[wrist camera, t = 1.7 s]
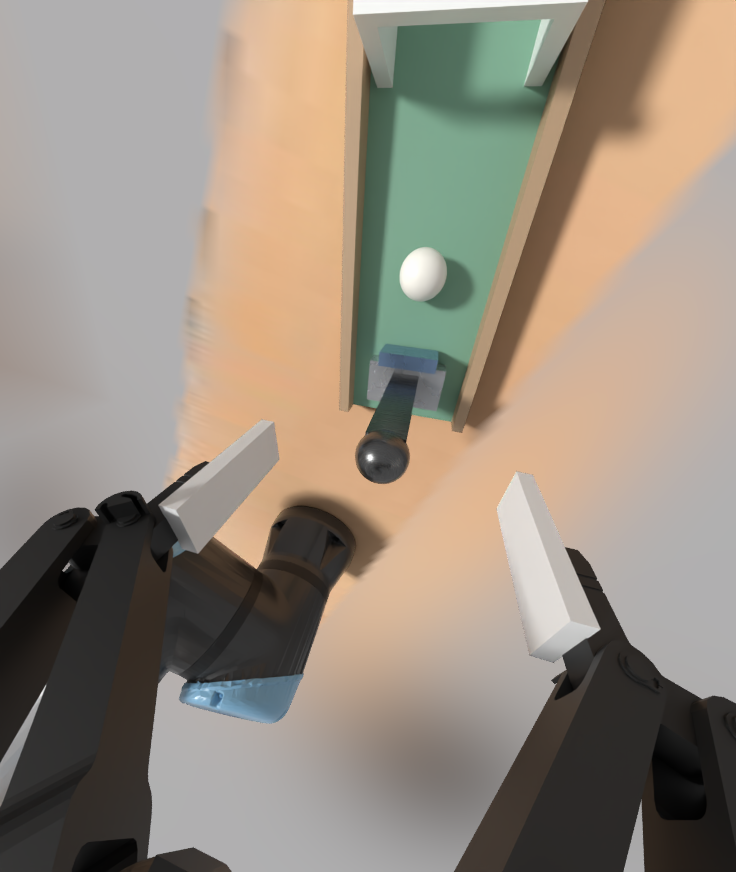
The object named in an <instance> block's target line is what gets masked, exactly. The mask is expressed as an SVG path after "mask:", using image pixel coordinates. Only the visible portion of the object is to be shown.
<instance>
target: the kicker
mask: <svg viewBox="0 0 736 872" xmlns="http://www.w3.org/2000/svg"><path fill="white" fill-rule="evenodd" d="M437 363H438V351H436V350H428V349H421V348H414V347H407V346H400V345H393V344H385V345H384V347H383V348H382V349H381V351H380V352H379V355H374V356H373V357H372V359H371V360H370V368H369V380H368V392H367V399H368V400H374V401H380V402H379V404H378V407H377V409H376V411H375V413H374V415H373V417H372V419H371V422H370V424H369V426H368V428H367V430H366V434H365V436H364V437H363V438H362V439H361V440H360V442H359V444H358V445H357V448H356V453H355V460H356V465H357V468H358V470H359V471H360V473H361V474H362V475H363V476H364V477H365V478H366V479H368V480H369V481H371V482H374V483H378V484H387V483H391V482H394V481H396V480H397V479H399V478H400V477H401V476H402V475H403V474H404V473H405V471H406V469H407V467H408V465H409V460H410V453H409V449H408V446H407V444H406V440H407V435H408V430H409V425H410V420H411V415H412V409H413V407H414V408H420V409H425V410H431V411H437V407H438V403H439V399H440V395H441V391H442V387H443V383H444V380H445V376H446V365H442V364H437Z"/></svg>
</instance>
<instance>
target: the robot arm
mask: <svg viewBox="0 0 736 872" xmlns="http://www.w3.org/2000/svg"><path fill="white" fill-rule="evenodd" d="M278 460H279V453H278V446H277V440H276V433H275V426H274V422H272V421H267V420H261V421H259V422H258V423H257V424H256V425H255V426H253V427H252V428H251V429H250V430H248V431H247V432H246V433H245V434H244V435H242V436H241V437H240V438H239V439H238V440H236V441H235V442H234V443H233V444H232V445H230V446H229V447H228V448H227V449H226V450H224V451H223V452H222V453H221V454H219V455H218V456H217V457H216V458H215V459H213V460H212V461H211V462H206V461H205V462H203V463H201V464H199V465H197V466H194V467H193V468H192V469H190V470H189V471H188V472H187V473H185V474H184V476H182V477H180V478H179V479H178V480H177V481H176V482H174V483H173V484H171V485H170V486H169V487H168V488H166V489H165V490H164V491H163V492H161V493H160V494H159V495H158V496H157V497H155V498H154V499H152V500H151V501H150V502H149V503H147V504H146V502H145V500H144V498H143V497H142V495H141V494H140V493H138V492H136V491H125V492H121V493H117V494H114V495H112V496H110V497H108V498H106V499H105V500H104V501H102V502H101V503H100V504H98V506H97V507H96V509H95V511H96V512H97V514H98V515H99V516H94V515H93V514H92V513H91V512H90V510H88V509H86V508H73V509H69V510H66V511H63V512H61V513H59V514H57V515H55V516H53V517H52V518H50V519H49V520H48V521H46V522H45V523H44V524H43V525H42V526H41V527H40V528H39V529H38V530H37V531H36V532H35V533H34V534H33V535H32V536H31V538H30V539H29V540H28V541H27V542H26V543H25V544H24V545H23V546H22V547H21V548H20V549H19V550H18V551H17V552H16V553H15V554H14V555H13V556H12V558H11V559H10V560H9V561H8V562H7V563H6V564H5V565H4V566H3V567H2V568H1V569H0V872H231V870H230V869H229V867H228V866H227V865H226V864H224V863H223V862H221V861H219V860H217V859H215V858H213V857H211V856H209V855H207V854H205V853H203V852H201V851H199V850H197V849H195V848H188V849H183V850H179V851H173V852H169V853H163V854H158V855H156V856H155V857H152V858H149V859H147V855H148V845H149V834H150V825H151V814H152V796H151V790H150V786H149V782H148V764H149V756H150V748H151V739H152V731H153V722H154V714H155V705H156V697H157V688H158V683H159V682H160V681H161V680H162V678H163V677H164V676H165V675H166V673H168V672H169V671H171V672H173V673H175V674H178V675H180V676H181V677H183V678H185V679H187V682H186V683H184V685H183V687H182V692H181V694H180V697H179V700H180V701H181V702H182V703H186V704H187V705H190V706H193V707H197V708H200V709H204V710H208V711H212V712H216V713H219V714H223V715H228V716H232V717H237V718H241V719H246V720H250V721H256V722H261V723H275V722H277V721H279V720H280V719H282V718H283V717H284V716H285V714H286V713H287V711H288V709H289V707H290V705H291V702H292V700H293V697H294V695H295V692H296V690H297V687H298V685H299V683H300V680H301V679H302V677H303V671H304V668H305V665H306V662H307V659H308V656H309V653H310V650H311V647H312V644H313V641H314V638H315V635H316V632H317V629H318V626H319V623H320V620H321V617H322V614H323V611H324V608H325V605H326V602H327V599H328V597H329V594H330V591H331V590H332V588H333V587H334V586H335V584H336V583H337V582H338V580H339V579H340V577H341V576H342V575H343V573H344V572H345V570H346V569H347V568H348V566H349V565H350V563H351V561H352V558H353V554H354V551H355V540H354V537H353V535H352V534H351V532H350V531H349V529H348V528H347V527H346V526H345V525H344V524H343V523H342V522H341V521H339V520H338V519H336V518H335V517H333V516H332V515H330V514H328V513H326V512H324V511H321V510H318V509H315V508H310V507H303V506H297V507H290V508H287V509H285V510H283V511H282V512H281V513H280V514H279V515H278V517H277V518H276V520H275V521H274V523H273V524H272V526H271V529H270V533H269V537H268V540H267V544H266V548H265V552H264V556H263V559H262V562H261V563H260V565H259V567H258V568H257V569H255V568H254V567H253V566H252V565H250V564H249V563H248V562H246V561H245V560H244V559H242V558H241V557H240V556H238V555H237V554H236V553H234V552H233V551H231V550H230V549H229V548H227V547H226V546H225V545H223V544H222V543H221V542H219V541H218V540H217V539H215V538H214V537H213V536H214V535H215V534H216V532H217V531H218V530H219V529H220V528H221V527H222V525H223V524H224V523H225V522H226V521H227V520H228V518H229V517H230V516H231V515H232V514H233V513H234V511H235V510H236V509H237V508H238V507H239V506H240V504H241V503H242V502H243V501H244V500H245V499H246V498H247V496H248V495H249V494H250V493H251V492H252V491H253V489H254V488H255V487H256V486H257V485H258V484H259V482H260V481H261V480H262V479H263V478H264V477H265V475H266V474H267V473H268V472H269V471H270V470H271V469H272V467H273V466H274V465H275V464H276V463H277V462H278ZM497 513H498V518H499V522H500V526H501V531H502V535H503V540H504V544H505V549H506V553H507V558H508V562H509V567H510V570H511V576H512V580H513V584H514V589H515V593H516V598H517V602H518V607H519V611H520V616H521V620H522V624H523V629H524V634H525V638H526V642H527V647H528V651H529V655H530V656H533V657H536V658H540V659H543V660H546V661H549V662H553V663H554V662H555V661H556V660H558V659H560V658H561V657H562V656H563V660H564V663H565V666H566V669H567V670H566V671H564V672H562V673H561V674H559V675H557V676H556V677H555V678H554V679H552V680H551V681H552V682H553V683H554V684H556V683H557V684H556V686H555V688H554V690H553V691H552V693H551V695H550V697H549V699H548V701H547V702H546V704H545V706H544V708H543V710H542V712H541V714H540V715H539V717H538V719H537V721H536V723H535V725H534V726H533V728H532V730H531V732H530V734H529V735H528V737H527V739H526V741H525V743H524V745H523V746H522V748H521V750H520V752H519V754H518V756H517V757H516V759H515V761H514V763H513V765H512V767H511V769H510V770H509V772H508V774H507V776H506V777H505V779H504V781H503V783H502V785H501V787H500V789H499V790H498V792H497V794H496V796H495V798H494V800H493V801H492V803H491V805H490V807H489V809H488V811H487V812H486V814H485V816H484V818H483V820H482V821H481V824H480V825H479V827H478V829H477V831H476V832H475V834H474V836H473V838H472V840H471V842H470V843H469V845H468V847H467V849H466V851H465V853H464V855H463V856H462V858H461V860H460V862H459V864H458V866H457V867H456V869H455V871H454V872H623V871H624V867H625V863H626V859H627V854H628V850H629V847H630V843H631V839H632V834H633V830H634V827H635V822H636V819H637V815H638V811H639V806H640V802H641V799H642V821H643V845H644V866H645V867H644V868H645V872H736V703H734V702H731V701H730V700H728V699H726V698H724V697H718V696H711V697H708V698H705V699H701V698H699V697H698V696H696V695H694V694H692V693H691V692H689V691H687V690H685V689H684V688H682V687H680V686H678V685H677V684H675V683H673V682H672V681H670V680H668V679H666V678H665V677H663V676H662V675H661V674H660V672H659V671H658V670H657V668H656V667H655V666H654V664H653V663H652V662H651V661H650V660H649V659H648V658H647V657H646V656H645V655H644V654H643V653H642V652H640V651H639V650H637V649H636V648H634V647H633V646H632V645H631V644H630V643H629V641H628V639H627V638H626V636H625V633H624V631H623V629H622V627H621V626H620V623H619V621H618V619H617V618H616V616H615V613H614V611H613V609H612V608H611V606H610V603H609V601H608V600H607V597H606V595H605V594H604V593H603V589H602V587H601V586H600V583H599V581H597V577H596V576H595V573H594V571H593V569H592V568H591V565H590V564H589V562H588V561H587V560H586V559H585V558H584V557H583V556H582V554H581V553H580V552H579V551H578V550H575V549H570V548H566V547H564V545H563V542H562V540H561V538H560V536H559V533H558V531H557V529H556V527H555V524H554V522H553V520H552V517H551V515H550V513H549V510H548V508H547V506H546V504H545V502H544V499H543V497H542V494H541V492H540V490H539V488H538V486H537V483H536V481H535V479H534V476H533V475H531V474H526V473H522V472H516V473H515V475H514V477H513V479H512V481H511V482H510V485H509V486H508V488H507V490H506V492H505V494H504V496H503V498H502V499H501V501H500V503H499V505H498V507H497ZM68 562H69V563H70V564H71V565H70V566H69V567H68V569H67V570H66V571H65V572H63V571H62V570H63V569H64V567H65V566H66V565H67V563H68Z"/></svg>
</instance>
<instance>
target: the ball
mask: <svg viewBox="0 0 736 872" xmlns="http://www.w3.org/2000/svg"><path fill="white" fill-rule="evenodd" d="M446 277H447V266H446V262H445V260H444V258H443V256H442V255H441V254H440V253H439V252H438V251H437V250H435V249H433V248H430V247H422V248H418V249H416V250H414V251H413V252H411V253H410V254H409V255H408V256H407V257H406V259H405V260H404V262H403V264H402V266H401V270H400V285H401V288H402V290H403V292H404V293H405V295H406V296H407V297H409V298H410V299H412V300H414V301H418V302H423V301H427V300H430V299H432V298H433V297H435V296H436V295H437V294H438V293H439V292H440V291H441V289H442V288H443V286H444V284H445V281H446Z"/></svg>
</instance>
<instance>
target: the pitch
mask: <svg viewBox="0 0 736 872" xmlns="http://www.w3.org/2000/svg"><path fill="white" fill-rule="evenodd" d="M605 1H606V0H588V2H587V4H586V6H585V8H584V10H583V12H582V13H581V15H580V17H579V19H578V21H577V22H576V24H575V26H574V28H573V30H572V32H571V33H570V35H569V37H568V39H567V41H566V43H565V44H564V46H563V48H562V50H561V52H560V54H559V55H558V57H557V59H556V61H555V63H554V64H553V66H552V68H551V70H550V72H549V74H548V75H547V77H546V79H545V81H544V83H543V85H542V86H524V84H525V80H526V76H527V72H528V68H529V64H530V61H531V57H532V53H533V49H534V45H535V41H536V38H537V34H538V30H539V26H540V22H541V20H520V21H499V22H477V23H456V24H434V25H412V26H398V28H397V40H396V52H395V64H394V76H393V88H377V85H376V82H375V79H374V76H373V73H372V70H371V67H370V64H369V61H368V58H367V55H366V52H365V49H364V46H363V43H362V40H361V37H360V34H359V31H358V28H357V25H356V22H355V19H354V16H353V0H348V9H347V58H346V107H345V156H344V205H343V254H342V303H341V352H340V401H339V410H341V411H346V412H348V411H349V410H350V408H351V407H352V405H353V404H355V405H361V406H366V407H372V408H377V407H378V404H379V402H380V401H374V400H368V399H367V392H368V380H369V368H370V360H371V359H372V357H373V356H374V355H379V352H380V351H381V349H382V348H383V347H384V345H385V344H393V345H400V346H407V347H414V348H421V349H428V350H436V351H438V363H437V364H442V365H446V376H445V380H444V383H443V387H442V391H441V395H440V399H439V403H438V407H437V411H431V410H425V409H420V408H414V407H413V409H412V415H417V416H422V417H428V418H434V419H439V420H445V421H450V422H451V426H452V431H455V432H460V433H462V431H463V428H464V425H465V422H466V419H467V416H468V413H469V410H470V407H471V404H472V401H473V398H474V395H475V392H476V389H477V386H478V383H479V380H480V377H481V374H482V371H483V368H484V365H485V362H486V359H487V356H488V353H489V350H490V347H491V344H492V341H493V338H494V335H495V332H496V329H497V326H498V323H499V320H500V317H501V314H502V311H503V308H504V305H505V302H506V299H507V296H508V293H509V290H510V287H511V284H512V281H513V278H514V275H515V272H516V269H517V266H518V263H519V260H520V257H521V254H522V251H523V248H524V245H525V242H526V239H527V236H528V233H529V230H530V227H531V224H532V221H533V218H534V215H535V212H536V209H537V206H538V203H539V200H540V197H541V193H542V190H543V187H544V184H545V181H546V178H547V175H548V172H549V169H550V166H551V163H552V160H553V157H554V154H555V151H556V148H557V145H558V142H559V139H560V136H561V133H562V130H563V127H564V124H565V121H566V118H567V115H568V112H569V109H570V106H571V103H572V100H573V97H574V94H575V91H576V88H577V85H578V82H579V79H580V76H581V73H582V70H583V67H584V64H585V61H586V58H587V55H588V52H589V49H590V46H591V43H592V40H593V37H594V34H595V31H596V28H597V25H598V22H599V19H600V16H601V13H602V10H603V7H604V4H605ZM422 247H430V248H433V249H435V250H437V251H438V252H439V253H440V254H441V255H442V256H443V258H444V260H445V262H446V266H447V277H446V281H445V284H444V286H443V288H442V289H441V291H440V292H439V293H438V294H437V295H436V296H435V297H433V298H432V299H430V300H427V301H423V302H418V301H414V300H412V299H410V298H409V297H407V296H406V295H405V293H404V292H403V290H402V288H401V285H400V270H401V266H402V264H403V262H404V260H405V259H406V257H407V256H408V255H409V254H410V253H411V252H413V251H414V250H416V249H418V248H422Z"/></svg>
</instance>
